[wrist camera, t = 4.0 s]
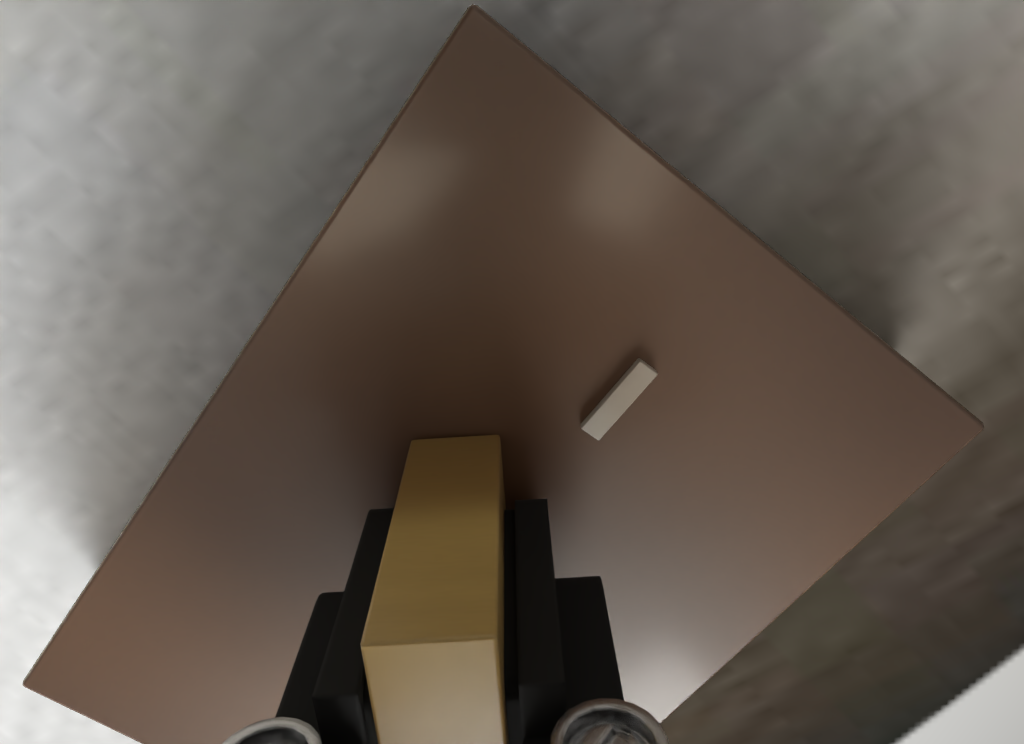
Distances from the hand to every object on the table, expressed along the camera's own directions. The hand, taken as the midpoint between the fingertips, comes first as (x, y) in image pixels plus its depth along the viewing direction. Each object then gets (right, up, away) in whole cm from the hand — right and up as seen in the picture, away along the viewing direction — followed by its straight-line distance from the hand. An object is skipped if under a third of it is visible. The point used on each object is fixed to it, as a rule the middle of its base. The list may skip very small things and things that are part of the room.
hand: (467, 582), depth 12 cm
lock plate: (0, +1, +3) cm, 3 cm away
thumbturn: (0, 0, 0) cm, 0 cm away
